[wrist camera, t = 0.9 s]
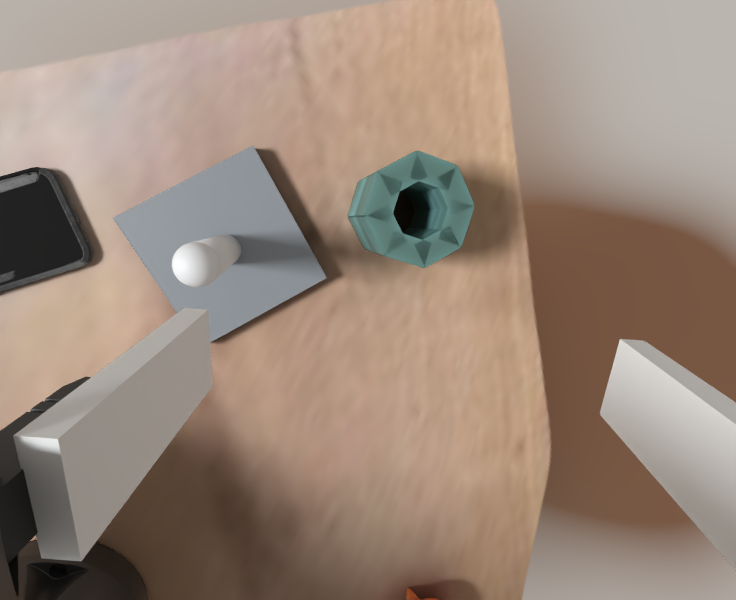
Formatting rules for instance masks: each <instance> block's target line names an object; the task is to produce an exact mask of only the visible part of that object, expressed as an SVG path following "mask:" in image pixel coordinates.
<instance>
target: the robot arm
mask: <svg viewBox="0 0 736 600" xmlns="http://www.w3.org/2000/svg"><path fill="white" fill-rule="evenodd" d="M212 386H213V384H212V365H211V347H210V329H209V311H208V309H195V308H184V309H182V310H181V311H180V312H178V313H177V314H176V315H174V316H173V317H171V318H170V319H169V320H167V321H166V322H165V323H163V324H162V325H161V326H159V327H158V328H157V329H155V330H154V331H153V332H151V333H150V334H149V335H147V336H146V337H145V338H143V339H142V340H141V341H139V342H138V343H137V344H135V345H134V346H133V347H131V348H130V349H129V350H127V351H126V352H125V353H123V354H122V355H121V356H119V357H118V358H117V359H115V360H114V361H113V362H111V363H110V364H108V365H107V366H106V367H104V368H103V369H102V370H100V371H99V372H98V373H96V374H95V375H94V376H92V377H84V378H82V379H79V380H77V381H75V382H72V383H70V384H68V385H65V386H63V387H62V388H60V389H59V390H57V391H56V392H55V393H53V394H52V395H50V396H49V397H47V398H46V400H45V402H44V401H42V402H40V403H39V404H38V405H36V406H35V407H33V408H32V409H31V411H30V412H26V413H25V414H23V415H22V416H21V417H19V418H18V419H16V420H15V421H14V422H12V423H11V424H9V425H8V426H7V427H5V428H4V429H2V430H1V431H0V600H147V593H146V589H145V586H144V583H143V581H142V579H141V577H140V576H139V574H138V572H137V571H136V570H135V569H134V567H133V566H132V565H131V564H130V563H129V562H128V561H127V560H126V559H124V558H123V557H122V556H120V555H119V554H117V553H116V552H114V551H112V550H111V549H109V548H106V547H104V546H102V545H99V544H96V541H97V540H98V538H99V537H100V536H101V534H102V533H103V532H104V530H105V529H106V528H107V526H108V525H109V524H110V522H111V521H112V520H113V518H114V517H115V516H116V514H117V513H118V512H119V510H120V509H121V508H122V506H123V505H124V504H125V502H126V501H127V500H128V498H129V497H130V496H131V494H132V493H133V492H134V490H135V489H136V488H137V486H138V485H139V484H140V482H141V481H142V480H143V478H144V477H145V476H146V474H147V473H148V472H149V470H150V469H151V468H152V466H153V465H154V464H155V462H156V461H157V460H158V458H159V457H160V456H161V454H162V453H163V452H164V450H165V449H166V448H167V446H168V445H169V444H170V442H171V441H172V440H173V438H174V437H175V436H176V434H177V433H178V432H179V430H180V429H181V428H182V426H183V425H184V424H185V422H186V421H187V419H188V418H189V417H190V415H191V414H192V413H193V411H194V410H195V409H196V407H197V406H198V405H199V403H200V402H201V401H202V399H203V398H204V397H205V395H206V394H207V393H208V391H209V390H210V389H211V387H212ZM600 415H601V416H602V417H603V418H604V420H605V421H606V422H607V423H608V424H609V425H610V426H611V428H612V429H613V430H614V431H615V432H616V434H617V435H618V436H619V437H620V438H621V439H622V440H623V442H624V443H625V444H626V445H627V446H628V447H629V448H630V449H631V451H632V452H633V453H634V454H635V455H636V456H637V457H638V459H639V460H640V461H641V462H642V463H643V464H644V466H645V467H646V468H647V469H648V470H649V472H650V473H651V474H652V475H653V476H654V477H655V478H656V479H657V480H658V482H659V483H660V484H661V485H662V486H663V487H664V489H665V490H666V491H667V492H668V493H669V495H670V496H671V497H672V498H673V499H674V500H675V501H676V503H677V504H678V505H679V506H680V507H681V508H682V509H683V511H684V512H685V513H686V514H687V515H688V516H689V518H690V519H691V520H692V521H693V522H694V523H695V524H696V526H697V527H698V528H699V529H700V530H701V531H702V532H703V534H704V535H705V536H706V537H707V538H708V539H709V540H710V542H711V543H712V544H713V545H714V546H715V547H716V549H717V550H718V551H719V552H720V553H721V554H722V555H723V557H724V558H725V559H726V560H727V561H728V562H729V564H730V565H731V566H732V567H733V568H734V569H735V570H736V403H735V402H734V401H732V400H731V399H729V398H728V397H727V396H725V395H724V394H722V393H720V392H719V391H718V390H716V389H715V388H713V387H712V386H710V385H709V384H707V383H706V382H704V381H703V380H701V379H700V378H699V377H697V376H696V375H694V374H693V373H691V372H690V371H688V370H687V369H685V368H684V367H682V366H680V365H679V364H678V363H676V362H675V361H673V360H672V359H670V358H669V357H667V356H666V355H664V354H663V353H662V352H660V351H658V350H657V349H656V348H654V347H653V346H651V345H650V344H648V343H647V342H645V341H641V340H627V339H620V341H619V345H618V349H617V352H616V356H615V360H614V363H613V367H612V370H611V374H610V378H609V381H608V385H607V389H606V392H605V396H604V400H603V403H602V407H601V411H600ZM35 535H36V537H37V541H33V542H29V541H30V540H31V539H32V538H33V537H34V536H35ZM28 542H29V543H28Z"/></svg>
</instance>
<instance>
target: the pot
mask: <svg viewBox="0 0 736 600" xmlns="http://www.w3.org/2000/svg"><path fill="white" fill-rule="evenodd" d="M406 592H407V593H406V594H407V600H439V599H435V598H428V599H419V598H418V597H417V596H416V595H415V593H414V592H413V591H412V590H411V589H410V588H408V589H407V590H406Z"/></svg>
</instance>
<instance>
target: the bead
mask: <svg viewBox="0 0 736 600" xmlns="http://www.w3.org/2000/svg"><path fill="white" fill-rule="evenodd" d="M399 192H401V193H404V194H407V195H408V197H409V199H410V201H411V203H412V205H413V207H414V209H415V212H414V216H413V219H412V222H411V225H410V228H408V229H406V230H404V231H403V232H402V231H401V229H400V227H399V225H398V223H397V221H396V219H395V217H394V215H393V212H394V208H395V205H396V202H397V199H398V195H399ZM473 205H475V204H474V202H473V200H472V198H471V195H470V193H469V191H468V188H467V186H466V184H465V181H464V179H463V177H462V175H461V172H460V170H459V168H458V166H457V167H456V165H455V164H453V163H450V162H447V161H445V160H442V159H439V158H437V157H434V156H431V155H429V154H426V153H423V152H420V151H415V152H413V153H411V154H409V155H407V156H405V157H403V158H401V159H399V160H397V161H396V162H394V163H392V164H390V165H388V166H386V167H384V168H382V169H380V170H379V171H377V172H375V173H373V174H371V175H369V176H367V177H366V178H364V179H362V180H360V181H359V182H358V183H357V186H356V190H355V193H354V197H353V200H352V203H351V207H350V210H349V214H348V216H349V217H348V219H349V221H350V223H351V225H352V226H353V228H354V230H355V232H356V234H357V236H358V238H359V240H360V242H361V244H362V246H363V248H365V249H366V250H369V251H372V252H375V253H378V254H380V255H383V256H386V257H389V258H393V259H396V260H399V261H403V262H406V263H409V264H413V265H416V266H419V267H422V268H424V267H425V268H426V267H428V266H429V265H431V264H433V263H435V262H436V261H438V260H440V259H442V258H444V257H445V256H447V255H449V254H451V253H452V252H454V251H456V250H458V249H459V248H460V246H462V244H463V241H464V238H465V235H466V232H467V229H468V226H469V223H470V219H471V216H472V213H473V210H474V206H473Z"/></svg>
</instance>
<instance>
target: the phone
mask: <svg viewBox="0 0 736 600" xmlns="http://www.w3.org/2000/svg"><path fill="white" fill-rule="evenodd" d="M87 240H88V238H87V236H86V233H85V231H84V229H83V227H82V225H81V223H80V221H79V218H78V216H77V214H76V212H75V210H74V208H73V206H72V203H71V201H70V199H69V197H68V195H67V193H66V191H65V188H64V186H63V184H62V182H61V180H60V178H59V177H58V175H57V174H55V173H54V172H53V171H51V170H49V169H45V168H39V167H34V168H29V169H26V170H22V171H19V172H15V173H11V174H8V175H4V176H1V177H0V292H2V291H5V290H9V289H12V288H15V287H18V286H21V285H25V284H28V283H31V282H34V281H37V280H41V279H44V278H47V277H50V276H53V275H57V274H60V273H63V272H66V271H69V270H73V269H76V268H79V267H82V266H85V265H87V264H88V263H89V262H90V261H91V260H92V258H93V249H92V246H91V244H90V242H89V240H88V241H87Z"/></svg>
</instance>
